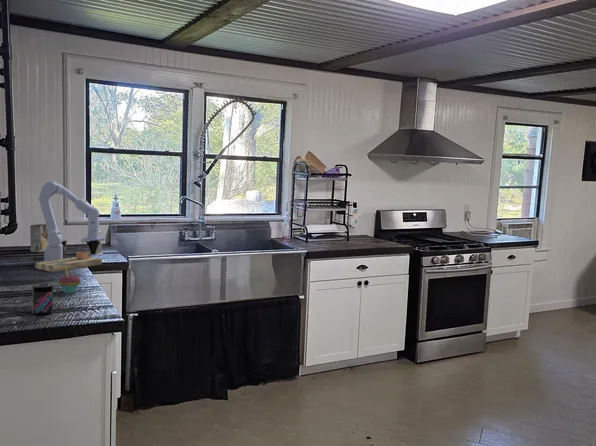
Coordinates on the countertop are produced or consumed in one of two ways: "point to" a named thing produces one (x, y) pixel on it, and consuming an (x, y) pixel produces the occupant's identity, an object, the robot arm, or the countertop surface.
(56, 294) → the countertop surface
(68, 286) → the cupcake
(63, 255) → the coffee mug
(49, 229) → the robot arm
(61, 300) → the countertop surface
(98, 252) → the french press
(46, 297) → the supplement container
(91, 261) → the fader console
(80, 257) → the fader knob
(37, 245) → the coffee box
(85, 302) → the countertop surface
